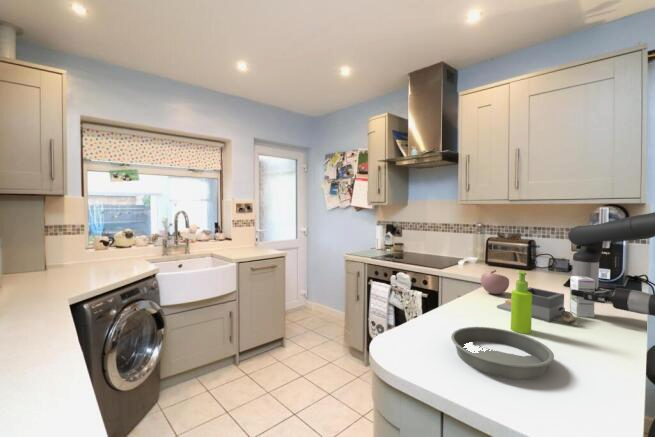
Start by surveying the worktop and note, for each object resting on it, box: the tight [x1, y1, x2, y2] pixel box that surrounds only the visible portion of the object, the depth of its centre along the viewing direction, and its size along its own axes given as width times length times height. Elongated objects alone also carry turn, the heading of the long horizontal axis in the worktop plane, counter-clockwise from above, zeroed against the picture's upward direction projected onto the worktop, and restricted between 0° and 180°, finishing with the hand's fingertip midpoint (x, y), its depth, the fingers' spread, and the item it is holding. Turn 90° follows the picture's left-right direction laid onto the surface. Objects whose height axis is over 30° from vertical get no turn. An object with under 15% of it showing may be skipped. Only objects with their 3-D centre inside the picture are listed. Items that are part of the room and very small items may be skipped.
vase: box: [558, 307, 580, 327], centre depth 112 cm, size 5×5×6 cm
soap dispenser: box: [510, 270, 533, 335], centre depth 106 cm, size 6×7×20 cm
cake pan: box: [450, 326, 555, 380], centre depth 86 cm, size 25×25×4 cm
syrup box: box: [569, 275, 595, 318], centre depth 121 cm, size 6×6×14 cm
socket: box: [496, 286, 565, 323], centre depth 124 cm, size 12×19×8 cm, turn 32°
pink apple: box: [480, 269, 510, 295], centre depth 150 cm, size 12×12×12 cm
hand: (576, 290), depth 122 cm, fingers closed on syrup box, 8 cm apart
